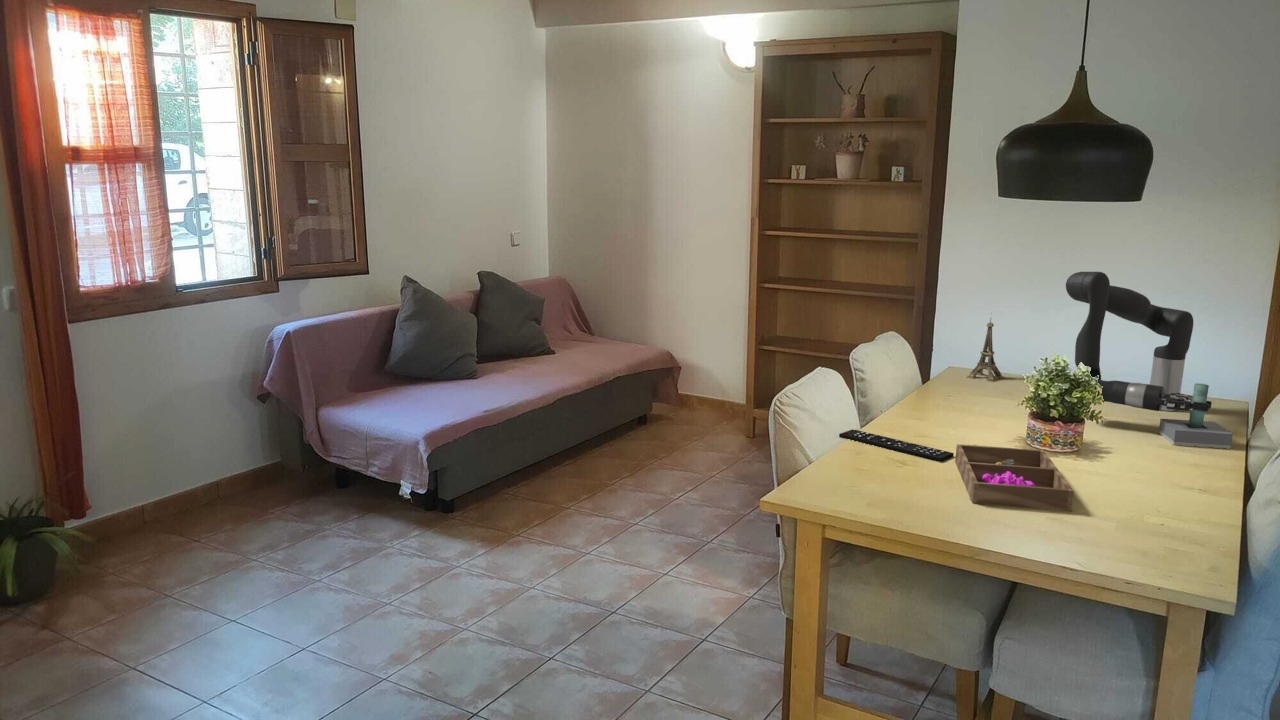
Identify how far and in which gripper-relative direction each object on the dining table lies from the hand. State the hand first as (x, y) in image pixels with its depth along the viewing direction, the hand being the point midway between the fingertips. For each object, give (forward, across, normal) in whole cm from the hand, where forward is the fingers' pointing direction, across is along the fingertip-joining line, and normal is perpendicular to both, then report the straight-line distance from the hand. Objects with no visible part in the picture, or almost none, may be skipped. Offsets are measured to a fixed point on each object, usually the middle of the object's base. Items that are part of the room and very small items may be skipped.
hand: (1209, 406), depth 272 cm
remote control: (-67, -66, +12) cm, 94 cm away
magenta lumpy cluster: (-28, -87, +12) cm, 92 cm away
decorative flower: (-30, -73, +12) cm, 80 cm away
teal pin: (-3, 0, +9) cm, 9 cm away
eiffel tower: (-79, +42, +12) cm, 90 cm away
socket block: (-3, 0, +11) cm, 11 cm away
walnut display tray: (-31, -77, +11) cm, 84 cm away
